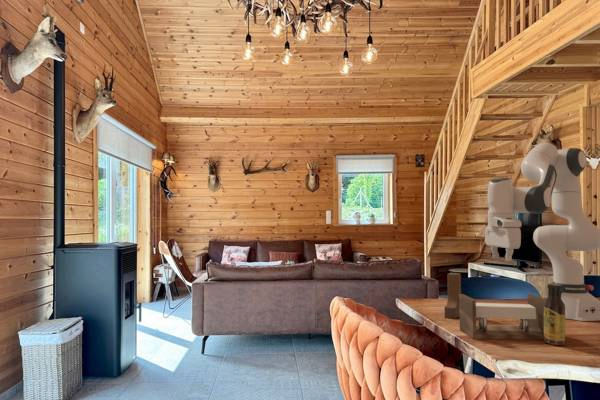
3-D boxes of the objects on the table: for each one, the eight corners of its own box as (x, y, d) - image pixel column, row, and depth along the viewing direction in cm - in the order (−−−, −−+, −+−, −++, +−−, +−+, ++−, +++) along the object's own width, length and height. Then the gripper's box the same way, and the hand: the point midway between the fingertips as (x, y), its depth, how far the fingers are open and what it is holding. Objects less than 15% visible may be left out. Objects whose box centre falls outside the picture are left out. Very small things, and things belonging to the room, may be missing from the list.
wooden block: (455, 319, 175) (454, 275, 176) (444, 317, 178) (443, 274, 178) (461, 315, 182) (460, 273, 183) (451, 313, 185) (450, 272, 185)
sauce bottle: (539, 340, 144) (538, 282, 145) (556, 340, 144) (555, 282, 145) (552, 346, 137) (551, 285, 138) (570, 346, 138) (569, 285, 139)
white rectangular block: (529, 315, 154) (529, 304, 154) (535, 319, 148) (535, 307, 148) (472, 313, 157) (471, 302, 157) (476, 317, 151) (476, 305, 151)
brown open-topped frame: (531, 329, 158) (530, 293, 158) (550, 339, 146) (549, 300, 146) (459, 329, 158) (459, 293, 158) (472, 339, 146) (472, 300, 146)
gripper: (480, 221, 165) (480, 256, 164) (505, 222, 144) (506, 262, 144) (496, 221, 165) (497, 256, 164) (524, 222, 144) (525, 262, 144)
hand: (501, 259), depth 154 cm, fingers open, 8 cm apart
